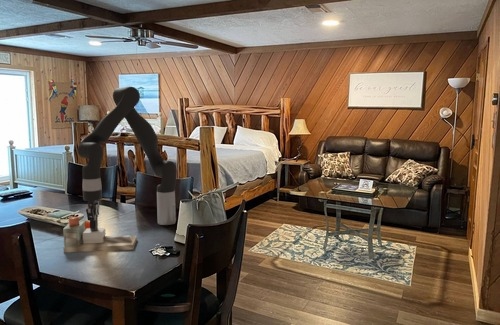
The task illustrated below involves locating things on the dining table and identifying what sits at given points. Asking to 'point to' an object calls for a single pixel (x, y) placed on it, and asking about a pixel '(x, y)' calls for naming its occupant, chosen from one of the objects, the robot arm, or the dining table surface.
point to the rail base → (76, 243)
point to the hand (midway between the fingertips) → (94, 227)
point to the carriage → (94, 235)
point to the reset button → (74, 221)
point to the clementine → (87, 225)
